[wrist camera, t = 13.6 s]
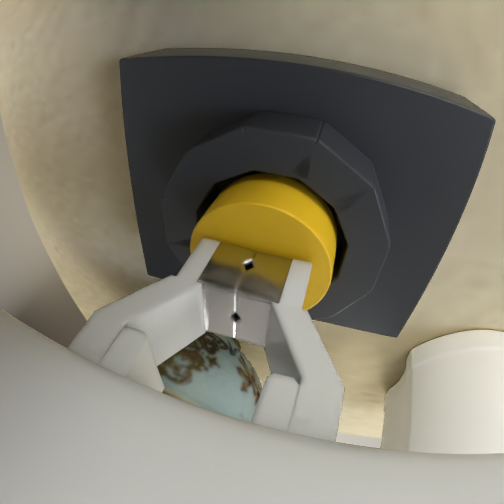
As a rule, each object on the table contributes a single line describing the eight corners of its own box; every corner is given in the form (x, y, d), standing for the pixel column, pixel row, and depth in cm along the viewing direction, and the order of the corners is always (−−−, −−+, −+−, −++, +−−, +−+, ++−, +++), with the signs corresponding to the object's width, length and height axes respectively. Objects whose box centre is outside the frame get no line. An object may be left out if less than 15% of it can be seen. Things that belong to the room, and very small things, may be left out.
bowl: (325, 377, 22) (302, 479, 16) (199, 389, 30) (168, 459, 24) (206, 236, 17) (127, 361, 11) (95, 293, 24) (40, 367, 18)
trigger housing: (465, 97, 9) (522, 140, 5) (395, 289, 15) (396, 372, 12) (165, 48, 11) (82, 69, 7) (176, 237, 18) (128, 301, 14)
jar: (424, 321, 16) (396, 601, 5) (544, 332, 14) (562, 556, 3) (376, 407, 23) (341, 578, 12) (473, 413, 21) (460, 570, 10)
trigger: (350, 188, 8) (348, 223, 7) (322, 290, 11) (315, 330, 10) (211, 162, 9) (185, 189, 8) (213, 264, 12) (194, 298, 10)
